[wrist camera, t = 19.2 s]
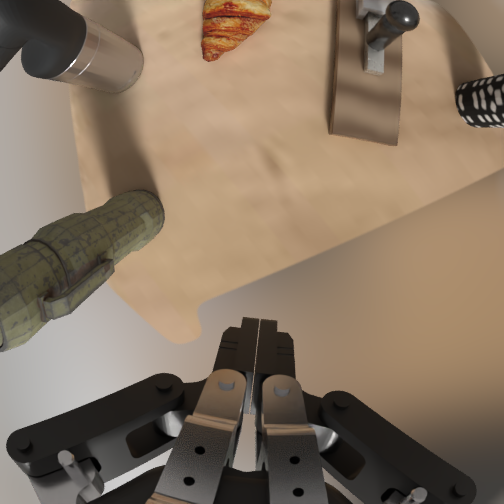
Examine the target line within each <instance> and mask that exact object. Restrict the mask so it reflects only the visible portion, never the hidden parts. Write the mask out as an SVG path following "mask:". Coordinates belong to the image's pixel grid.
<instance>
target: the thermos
mask: <svg viewBox="0 0 504 504" xmlns="http://www.w3.org/2000/svg"><path fill="white" fill-rule="evenodd" d="M164 220H165V216H164V209H163V206H162V203H161V202H160V201H159V199H158V198H157V197H156V196H155V195H154V194H152V193H151V192H149V191H146V190H134V191H129V192H126V193H123V194H121V195H118V196H116V197H113V198H111V199H109V200H108V201H107V202H106V203H105V204H104V205H103V206H100V207H98V208H95V209H93V210H91V211H88V212H86V213H74V214H71V215H69V216H66V217H65V218H62V219H59V220H57V221H55V222H53V223H50V224H48V225H46V226H44V227H42V228H40V229H39V230H38V232H37V233H36V234H35V235H34V237H33V238H32V239H31V240H28V241H27V242H25V243H24V244H23V245H22V244H21V245H19V246H17V247H15V248H13V249H11V250H9V251H7V252H6V253H4V254H2V255H0V352H4V351H7V350H10V349H12V348H15V347H18V346H20V345H22V344H25V343H26V342H27V341H28V340H29V339H30V338H31V337H32V336H33V335H35V334H36V333H37V332H38V331H39V330H40V329H41V328H42V327H43V326H44V325H45V324H46V323H47V322H48V321H49V320H51V319H53V320H54V319H57V318H60V317H62V316H65V315H68V314H71V313H72V312H73V311H74V310H75V309H76V308H77V307H78V306H79V305H80V304H81V303H82V302H83V301H85V300H86V299H87V298H88V297H89V296H90V295H91V294H92V293H93V292H94V291H95V290H96V289H98V288H99V287H100V286H101V285H102V284H103V283H104V282H105V281H106V280H107V279H108V278H109V277H110V276H111V275H112V274H113V273H114V272H115V270H114V265H116V264H117V263H118V262H119V261H121V260H122V259H123V258H124V257H125V256H127V255H128V254H129V253H130V252H132V251H139V250H140V249H141V248H142V247H144V246H145V245H146V244H147V243H149V242H150V241H151V240H152V239H153V238H154V237H155V236H156V235H157V234H158V233H159V232H160V230H161V229H162V227H163V224H164Z"/></svg>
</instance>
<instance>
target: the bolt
mask: <svg viewBox="0 0 504 504" xmlns="http://www.w3.org/2000/svg"><path fill="white" fill-rule="evenodd" d="M419 21H420V17H419V13H418V11H417V10H416V8H415V7H414V6H413V5H412V4H410V3H408V2H406V1H402V0H396V1H392V2H391V3H389V4H388V6H387V7H386V10H385V14H384V15H381V14H378V13H374V12H370V11H368V13H367V14H366V15H365V51H364V72H365V73H370V74H374V75H378V76H380V75H381V74H383V73H384V49H385V48H386V47H387V46H388V45H390V44H391V43H392V42H393V41H394V40H396V39H397V38H398V37H399V36H401V35H402V34H403V33H404V32H406V31H411V30H413V29H415V28H416V27H417V26H418V24H419Z"/></svg>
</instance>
